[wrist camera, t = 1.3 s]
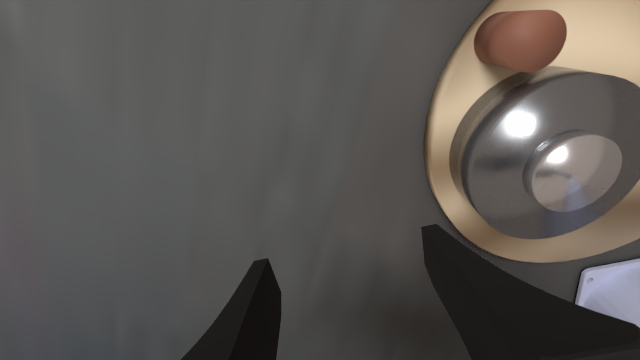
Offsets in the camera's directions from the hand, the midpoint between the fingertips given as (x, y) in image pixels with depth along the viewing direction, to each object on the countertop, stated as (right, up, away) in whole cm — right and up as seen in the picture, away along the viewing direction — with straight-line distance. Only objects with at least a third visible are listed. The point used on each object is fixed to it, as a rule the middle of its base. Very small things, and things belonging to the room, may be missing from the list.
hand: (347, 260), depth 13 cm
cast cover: (+11, +5, +5) cm, 13 cm away
